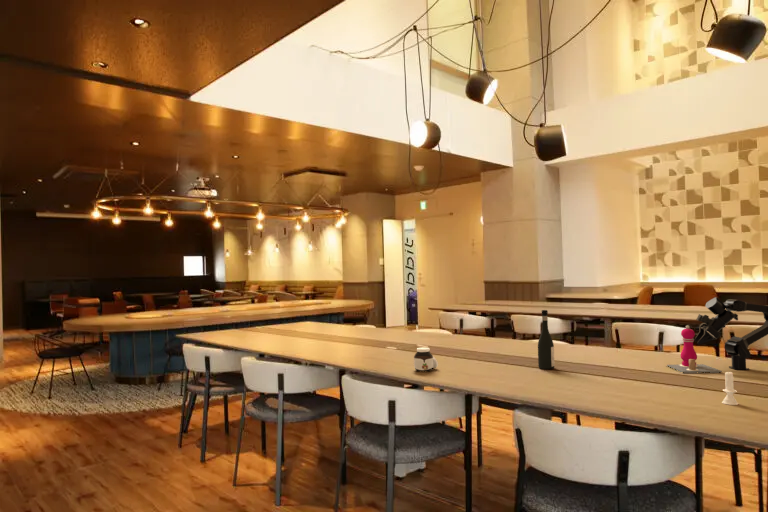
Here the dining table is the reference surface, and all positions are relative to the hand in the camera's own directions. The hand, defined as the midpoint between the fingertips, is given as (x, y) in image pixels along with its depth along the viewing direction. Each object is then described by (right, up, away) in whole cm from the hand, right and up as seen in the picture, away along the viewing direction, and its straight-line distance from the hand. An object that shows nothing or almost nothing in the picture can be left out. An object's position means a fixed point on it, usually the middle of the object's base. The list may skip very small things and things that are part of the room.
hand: (696, 342), depth 265 cm
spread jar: (-134, -17, +14) cm, 135 cm away
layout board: (-4, -13, -4) cm, 14 cm away
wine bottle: (-72, -15, +10) cm, 74 cm away
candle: (-26, -13, -65) cm, 71 cm away
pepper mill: (-3, -12, +1) cm, 12 cm away
